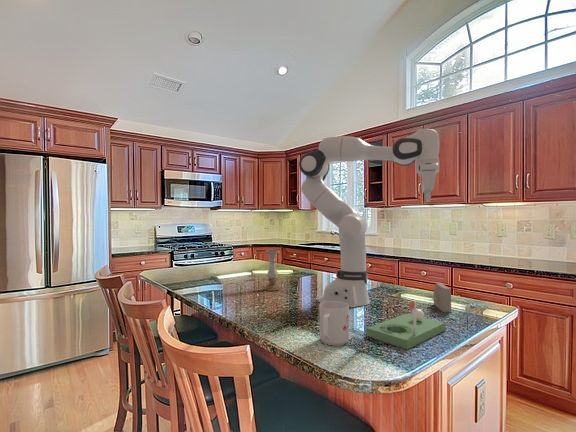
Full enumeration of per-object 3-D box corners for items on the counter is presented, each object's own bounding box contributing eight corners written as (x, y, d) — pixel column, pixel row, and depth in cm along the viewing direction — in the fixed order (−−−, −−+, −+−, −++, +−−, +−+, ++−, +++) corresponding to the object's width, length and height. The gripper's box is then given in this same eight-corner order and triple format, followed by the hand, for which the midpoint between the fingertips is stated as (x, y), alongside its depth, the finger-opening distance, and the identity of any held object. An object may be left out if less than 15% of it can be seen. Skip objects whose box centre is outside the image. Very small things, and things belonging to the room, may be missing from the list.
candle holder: (262, 291, 168) (262, 251, 169) (266, 287, 177) (266, 249, 177) (279, 291, 167) (279, 251, 167) (282, 287, 176) (282, 250, 176)
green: (406, 320, 120) (406, 286, 120) (445, 330, 109) (445, 292, 109) (366, 335, 104) (366, 296, 104) (407, 349, 93) (407, 305, 93)
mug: (325, 334, 106) (325, 299, 106) (352, 339, 101) (352, 303, 101) (310, 347, 95) (310, 308, 95) (339, 353, 91) (339, 313, 91)
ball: (412, 322, 110) (412, 310, 110) (411, 318, 113) (411, 307, 113) (425, 323, 109) (424, 311, 109) (423, 319, 112) (423, 307, 112)
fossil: (452, 312, 129) (452, 288, 130) (442, 312, 130) (442, 288, 130) (441, 304, 141) (441, 282, 141) (433, 304, 142) (433, 282, 142)
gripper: (418, 172, 145) (418, 203, 145) (420, 165, 126) (420, 201, 126) (434, 171, 143) (434, 203, 143) (438, 164, 124) (438, 201, 124)
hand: (427, 202), depth 135 cm, fingers open, 8 cm apart
